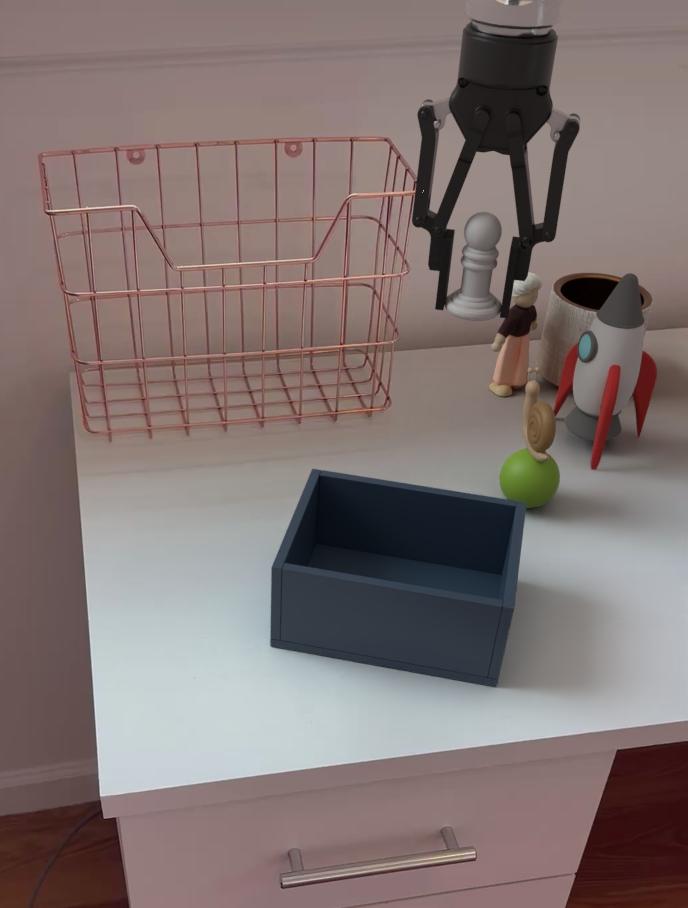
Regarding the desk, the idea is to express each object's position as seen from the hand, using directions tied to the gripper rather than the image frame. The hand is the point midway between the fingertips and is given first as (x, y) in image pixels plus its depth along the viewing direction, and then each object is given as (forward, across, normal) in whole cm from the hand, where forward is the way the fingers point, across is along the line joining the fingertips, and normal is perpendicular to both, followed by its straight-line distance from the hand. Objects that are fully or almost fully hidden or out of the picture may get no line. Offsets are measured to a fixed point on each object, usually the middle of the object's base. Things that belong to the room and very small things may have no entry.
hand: (472, 307), depth 96 cm
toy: (+13, +14, +2) cm, 20 cm away
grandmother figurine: (+13, +4, +11) cm, 18 cm away
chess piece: (0, 0, 0) cm, 0 cm away
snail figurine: (+13, +8, -11) cm, 19 cm away
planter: (+13, +12, +16) cm, 24 cm away
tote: (+13, -1, -30) cm, 33 cm away
